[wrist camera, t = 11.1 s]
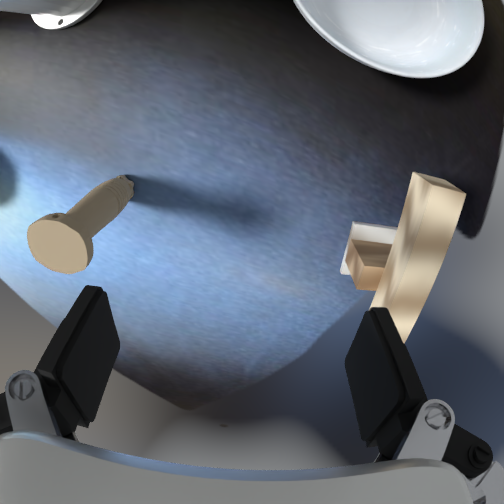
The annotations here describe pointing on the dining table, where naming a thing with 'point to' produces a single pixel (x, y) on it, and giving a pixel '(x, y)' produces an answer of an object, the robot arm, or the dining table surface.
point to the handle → (77, 227)
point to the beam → (418, 248)
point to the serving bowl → (400, 32)
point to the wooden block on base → (367, 253)
